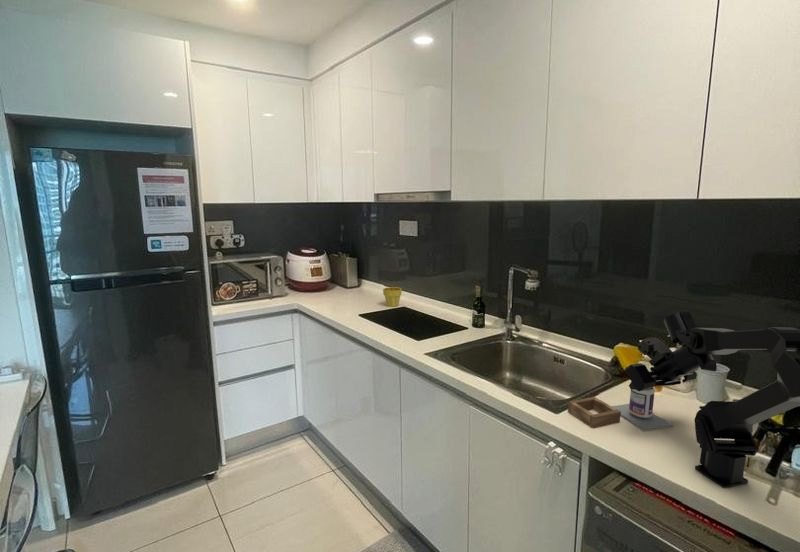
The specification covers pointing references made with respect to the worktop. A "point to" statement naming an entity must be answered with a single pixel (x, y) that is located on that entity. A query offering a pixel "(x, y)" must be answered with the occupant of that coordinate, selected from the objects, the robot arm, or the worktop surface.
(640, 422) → the grey mat
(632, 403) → the pill bottle
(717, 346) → the robot arm
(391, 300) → the plant pot
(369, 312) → the worktop surface
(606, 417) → the walnut socket
